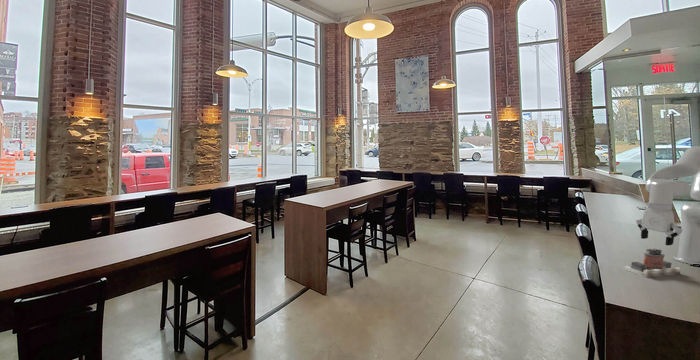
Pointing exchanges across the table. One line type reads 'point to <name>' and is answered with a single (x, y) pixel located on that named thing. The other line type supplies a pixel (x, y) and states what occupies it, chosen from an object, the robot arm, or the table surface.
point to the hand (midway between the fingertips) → (656, 241)
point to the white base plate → (642, 270)
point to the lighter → (653, 259)
